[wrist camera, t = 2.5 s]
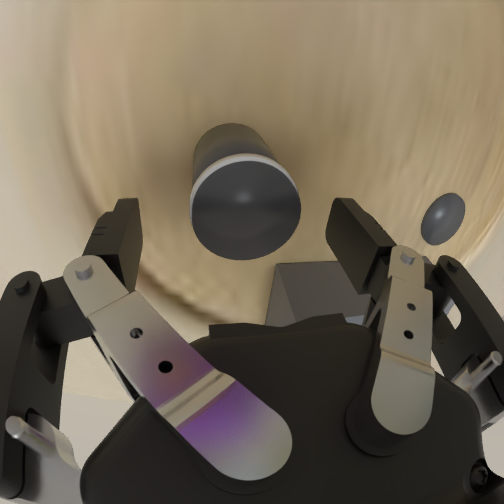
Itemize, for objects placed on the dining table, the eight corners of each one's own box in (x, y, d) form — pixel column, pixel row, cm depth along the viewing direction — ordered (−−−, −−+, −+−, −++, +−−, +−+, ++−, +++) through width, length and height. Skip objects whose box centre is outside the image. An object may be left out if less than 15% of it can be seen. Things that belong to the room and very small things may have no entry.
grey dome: (467, 193, 22) (472, 198, 22) (447, 240, 26) (451, 244, 25) (431, 188, 21) (436, 192, 21) (411, 240, 25) (415, 245, 24)
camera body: (426, 256, 26) (472, 317, 20) (387, 326, 33) (416, 382, 26) (276, 263, 23) (306, 355, 17) (261, 344, 30) (277, 417, 23)
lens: (272, 123, 16) (312, 165, 11) (264, 192, 19) (293, 259, 14) (192, 121, 16) (188, 162, 10) (192, 192, 18) (191, 263, 13)
